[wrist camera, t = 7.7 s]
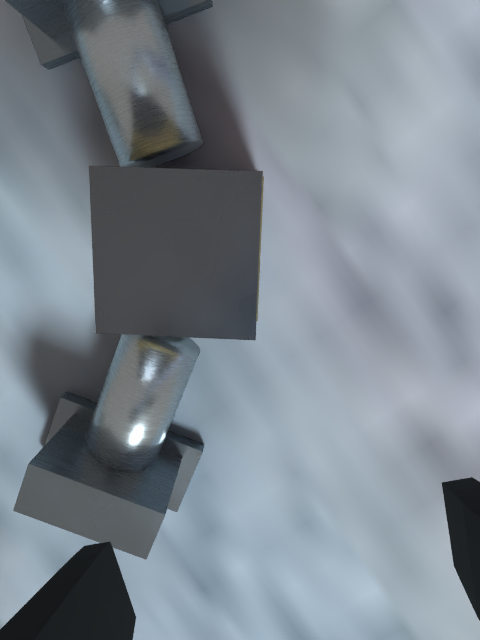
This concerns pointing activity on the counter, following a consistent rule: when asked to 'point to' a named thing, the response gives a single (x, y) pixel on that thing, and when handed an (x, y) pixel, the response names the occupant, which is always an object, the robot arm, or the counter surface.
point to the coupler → (176, 251)
